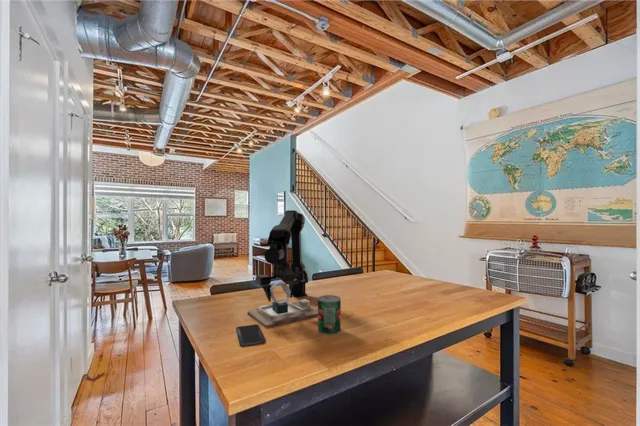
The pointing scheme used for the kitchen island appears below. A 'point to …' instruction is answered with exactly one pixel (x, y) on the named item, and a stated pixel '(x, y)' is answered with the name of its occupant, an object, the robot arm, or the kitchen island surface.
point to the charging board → (283, 314)
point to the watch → (280, 305)
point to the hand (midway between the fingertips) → (280, 299)
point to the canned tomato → (329, 314)
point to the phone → (250, 335)
